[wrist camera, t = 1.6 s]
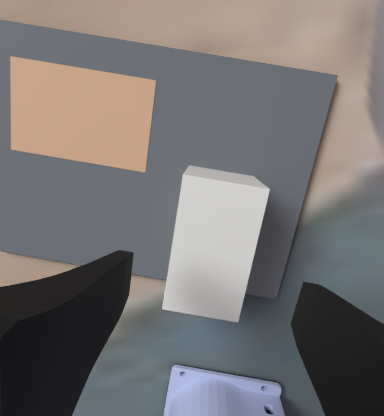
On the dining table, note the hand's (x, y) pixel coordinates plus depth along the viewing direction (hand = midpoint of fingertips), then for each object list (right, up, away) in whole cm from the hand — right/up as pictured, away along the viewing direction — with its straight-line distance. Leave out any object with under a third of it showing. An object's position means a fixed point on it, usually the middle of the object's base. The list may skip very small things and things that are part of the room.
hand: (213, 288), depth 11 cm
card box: (+1, +2, +8) cm, 9 cm away
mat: (-4, +6, +8) cm, 11 cm away
